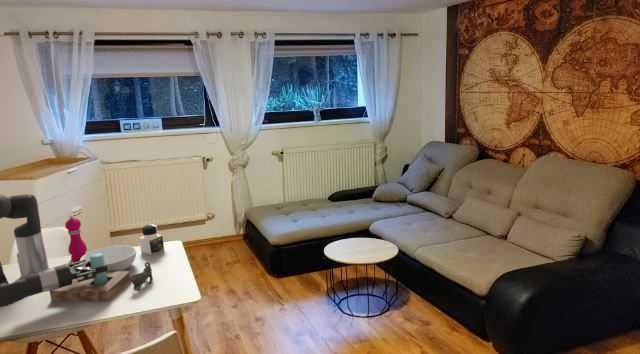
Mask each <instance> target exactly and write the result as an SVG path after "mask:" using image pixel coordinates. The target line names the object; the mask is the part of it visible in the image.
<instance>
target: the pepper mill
mask: <svg viewBox="0 0 640 354" xmlns="http://www.w3.org/2000/svg"><path fill="white" fill-rule="evenodd" d="M81 225H82V221H80V219H78V218H77V217H74V215H73V214H71V215H69V219H67V221H66V222H65V225H64V226H65V227H64V228H66V230H67V234H68V235H69V238H70V242H69V245H68V254H69V255H71V256H70V260H71V261H72V262H73V263H74V262H78V261H80V259H81V257H82V256H84V255H85V254H87V253H88V252H87V250H88V247H87V244H86V242H85V241H84V240H83V238H82V237H81V232H82V231H81Z"/></svg>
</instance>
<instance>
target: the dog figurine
mask: <svg viewBox="0 0 640 354" xmlns="http://www.w3.org/2000/svg"><path fill="white" fill-rule="evenodd" d="M144 267H145V268H144V269H143V271H142V272H140V273H135V274H131V276H130V281H131V282H130V283H132V285H133V289H136V291H140V289H141V287H142V285H143V284H145V283H146V281H147V280H148V278H149V282H148V284H149V285H152V284H153V283H152V282H153V280H154V277H153V274H152V273H153V272H152V267H151V263H150V262H149V261H148V262H147V261H146V262H145V263H144Z"/></svg>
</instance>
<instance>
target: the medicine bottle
mask: <svg viewBox="0 0 640 354" xmlns="http://www.w3.org/2000/svg"><path fill="white" fill-rule="evenodd" d="M163 238H164V237H163V235H162V234H159V233H158V226H157V225H156V224H147V225H144V226H143V227H142V236H141V237H140V236H139V239H138V240H139V245H140V246H139V247H140V252H141V254H145V255H149V256H153V254H154V255H156V254H157V253H159V252H162V251H164V250H165V244H164V239H163Z"/></svg>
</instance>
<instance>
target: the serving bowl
mask: <svg viewBox="0 0 640 354" xmlns="http://www.w3.org/2000/svg"><path fill="white" fill-rule="evenodd" d="M86 253H87V254H85V255H84V256H82V257H81V259H80V261H81V260H86V261H87V260H89V261H90V256H91V255H93V254H98V253H102V254H103V255H104V261H105V265H106V266H107V269H108V270H107V271H124V270H126V269H128V268H129V267H130V266H131V265H132V264H133V263H134V261H135V259H136V255H137V249H136V248H135V247H133V246H130V245H125V244H124V245H122V244H121V245H116V244H115V245H108V246H104V247H101V248H97V249H93V250H90V251H88V252H86ZM89 268H92V267H91V266H90V267H89Z"/></svg>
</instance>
